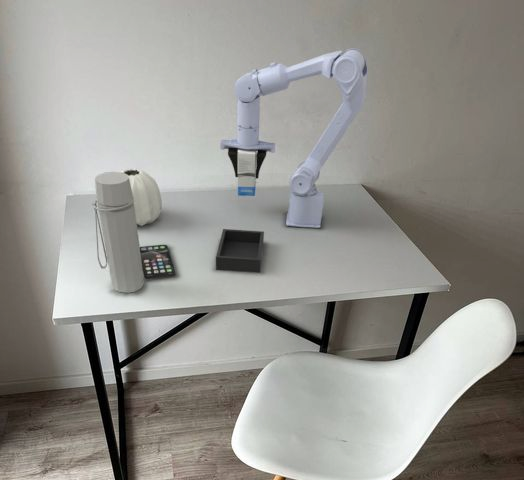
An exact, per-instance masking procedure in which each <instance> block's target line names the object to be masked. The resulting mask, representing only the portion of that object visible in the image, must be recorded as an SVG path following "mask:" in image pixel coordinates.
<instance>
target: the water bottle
mask: <svg viewBox="0 0 524 480" xmlns="http://www.w3.org/2000/svg"><path fill="white" fill-rule="evenodd" d="M94 185H95V199H96V200H95V201H92V204H91V205H92V207H93V209H94V214H95V216H94V217H95V233H96V253H97V255H96V256H97V261H98V265H99V266H100V268H101V269H103V270H104V269H106V268H107V267H108V269H109V270H108V271H109V276H110V281H111V286H112V289H114V290H115V291H117V292H119V293H122V294H123V293H125V294H129V293H135V292H137V291H139V290H141V289H142V287H143V286H144V283H145V280H144V279H145V278H144V275H143V270H142V262H141V254H140V247H141V246H140V240H139V239H140V238H139V232H138V225H137V222H136V214H135V206H134V203H133V202H134V197H133V194H132V189H131V185H130V180H129V177H128V175H127V174H124V173H122V172H121V171H107V172H103V173H99V174H98V175H96V176H94ZM98 212H99V213H98ZM99 218H100V219H99ZM100 223H101V224H100ZM98 229H99V233H100V238H101V243H102V248H103V253H104V259H105V263H106V264H105V265H102V263H101V260H100V255H99V254H100V252H99V238H98Z"/></svg>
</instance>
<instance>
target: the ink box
mask: <svg viewBox="0 0 524 480" xmlns="http://www.w3.org/2000/svg"><path fill="white" fill-rule="evenodd" d="M256 168H257V151H256V149H241V148H238V177H237V196H238V197H249V196H250V197H255V196H256V185H257V179H256Z"/></svg>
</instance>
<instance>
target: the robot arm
mask: <svg viewBox="0 0 524 480" xmlns="http://www.w3.org/2000/svg"><path fill="white" fill-rule="evenodd" d="M368 72H369V67H368V64H367V60H366V57H365V54H364V53H363V52H362V50H360V49H358V48H355V47H353V48H348V49H346V50H344V51H343V50H337V51H332V52H328V53H324V54H322V55H319V56H316V57H313V58H311V59H308V60H305V61H302V62H298V63H296V64H294V65H291V66H287V65H285V64H284V63H277V62H276V61H274V62H271V63H270V64H269V66H268V67H265V68H262V69H258V68H255V69H253V70H251V71H249V72H247V73H245V74H243V75H242V76H240V77H239V78H238V79H237V81H236V82H235V83H234V94H235V96H236V98H237V108H236V110H237V111H236V112H237V113H236V117H237V118H236V120H237V121H236V128H237V129H236V138H235V139H221V140H220V143H219V146H220V147H219V148H220V150H227V156H228V158H229V160H230V162H231V165H232V167H233V171H234V176H235V178H238V148H241V149H256V151H257V154H256V180H257V179H259V175H260V170H261V168H262V165H263V163H264V161H265V159H266V158H267V157H266V156H267V153H268V152H269V153H271V154H275V152H276V142H268V141H263V140H260V115H261V114H260V111H261V107H260V104H261V101H260V100H261V97H265V96H268V95H271V94H274V93H278V92H281V91H285V90H287V89H288V88H289V86H290V84H291V82H295V81H299V80H303V79H307V78H311V77H315V76H319V75H322V76H323V77H325V78H326V79H329V80H331V79H332V77H333V79H334V81H335V83H336V85H337V86H338V88H339V89H340V93H341V97H342V103H341V105H340V106H339V108H338V109H337V111H336V113H335V114H334V115H333V117H332V119H331V120H330V121H329V123H328V125H327V127H326V128H325V130H324V131H323V133H322V134H321V136H320V137H319V138H318V139H319V140H317V143H316V144H315V146H314V147H313V149H312V150H311V151H310V153H309V155H308V156H307V158H306V159H305V160H304V161H301V162H300V164H299V165H298V166H297V169H296V170H295V172H294V173H292V175H291V176H290V178H289V182H288V184H289V189H290V190H289V199H288V201H289V202H288V212H286V221H285V222H286V223H285V226H287V227H296V228H297V227H299V228H314V229H321V223H322V219H323V207H324V199H325V198H324V196H325V194H324V193H325V192H324V191H320V190H318V188H317V185H316V182H317V181H318V179H319V177H320V172H321V170H322V169H323V166H324V165H325V164H326V162H327V160H328V159H329V157H330V156H331V154H332V153H333V152H334V149H335V148H336V147H337V145H338V144H339V142H340V141H341V139H342V138H343V136H344V135H345V134H346V132H347V130H348V129H349V127H350V126H351V125H352V124H353V122H354V120H355V119H356V117H357V116H358V114H359V113H360V111H361V109H362V107H364V105H365V102H366V99H367V98H366V97H367V82H368Z"/></svg>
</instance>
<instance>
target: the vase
mask: <svg viewBox="0 0 524 480" xmlns="http://www.w3.org/2000/svg"><path fill="white" fill-rule="evenodd" d="M120 172H122V173H124V174H127V175H128V177H129V180H130V185H131V189H132V194H133V197H134V202H133V203H134V206H135V214H136V222H137V226H140V227H143V226H144V225H147V224H152V223H154V221H155V220H156V219H157V218H158V217H160V215H161V211H162V208H163V200H162V194H161V191H160V188H159V184H158V183H157V181H156V179H155V178H153V177H152V176H151V175H150V174H149V173H147V172H145V171H143V170H141V169H139V168H126V169H124V170H122V171H120Z"/></svg>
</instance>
